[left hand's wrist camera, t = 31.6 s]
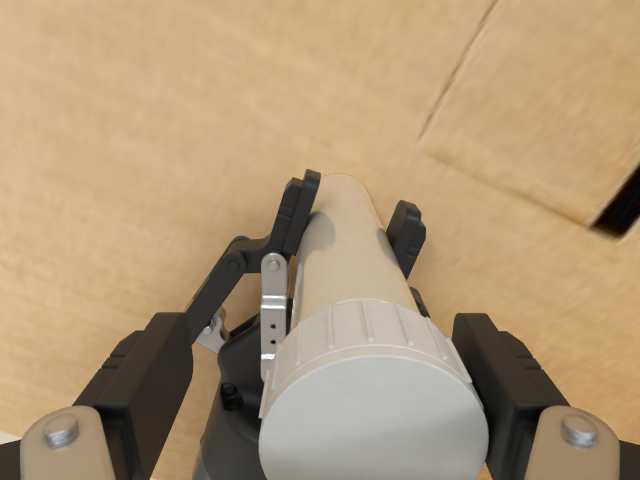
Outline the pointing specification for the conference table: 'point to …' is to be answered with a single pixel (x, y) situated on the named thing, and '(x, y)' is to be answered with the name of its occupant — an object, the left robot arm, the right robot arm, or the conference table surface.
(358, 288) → the white bottle
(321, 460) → the lid
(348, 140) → the conference table surface
